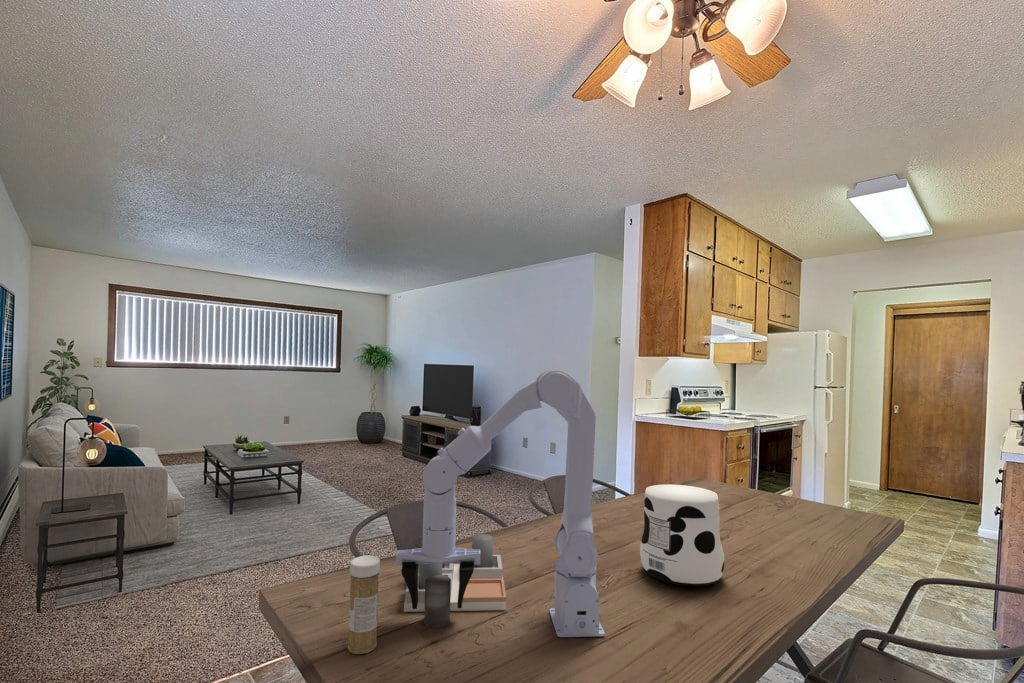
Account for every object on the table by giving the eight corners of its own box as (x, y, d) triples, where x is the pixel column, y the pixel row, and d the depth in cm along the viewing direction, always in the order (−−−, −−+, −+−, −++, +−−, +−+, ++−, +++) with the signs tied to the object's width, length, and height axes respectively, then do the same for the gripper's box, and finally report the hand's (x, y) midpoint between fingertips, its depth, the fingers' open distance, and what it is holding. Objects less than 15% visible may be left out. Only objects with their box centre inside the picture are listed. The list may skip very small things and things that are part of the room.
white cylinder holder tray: (505, 610, 93) (506, 562, 93) (403, 611, 91) (405, 563, 92) (500, 570, 111) (501, 531, 111) (415, 571, 110) (416, 531, 110)
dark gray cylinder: (449, 627, 86) (450, 585, 86) (423, 628, 86) (424, 585, 86) (450, 615, 90) (451, 575, 91) (425, 615, 90) (426, 575, 90)
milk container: (719, 566, 116) (718, 486, 117) (730, 599, 99) (729, 505, 100) (640, 558, 120) (640, 481, 121) (638, 587, 104) (638, 497, 105)
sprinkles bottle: (350, 640, 81) (353, 554, 82) (379, 639, 82) (382, 554, 83) (344, 656, 77) (347, 565, 78) (374, 655, 77) (377, 564, 78)
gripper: (480, 519, 93) (479, 595, 93) (400, 519, 92) (398, 596, 92) (481, 531, 86) (479, 613, 86) (394, 531, 85) (392, 615, 85)
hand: (437, 606), depth 88 cm, fingers open, 7 cm apart
